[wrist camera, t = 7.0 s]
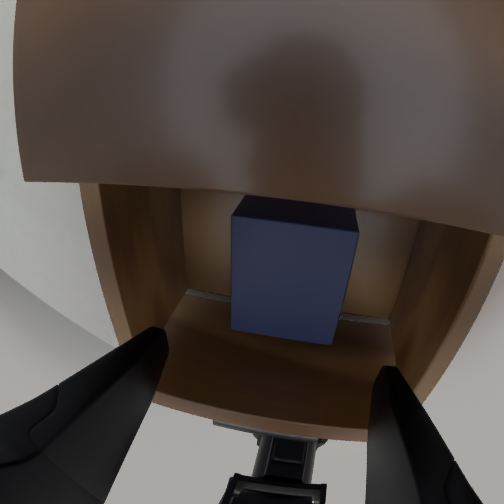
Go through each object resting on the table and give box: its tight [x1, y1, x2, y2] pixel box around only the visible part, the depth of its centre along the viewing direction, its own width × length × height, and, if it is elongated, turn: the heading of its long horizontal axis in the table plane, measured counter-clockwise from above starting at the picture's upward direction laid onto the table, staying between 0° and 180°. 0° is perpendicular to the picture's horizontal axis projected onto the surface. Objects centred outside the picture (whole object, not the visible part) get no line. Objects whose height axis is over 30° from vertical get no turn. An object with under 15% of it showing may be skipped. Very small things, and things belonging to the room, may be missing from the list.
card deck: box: [231, 195, 360, 345], centre depth 13 cm, size 6×4×2 cm
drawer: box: [79, 183, 504, 443], centre depth 13 cm, size 18×13×7 cm
